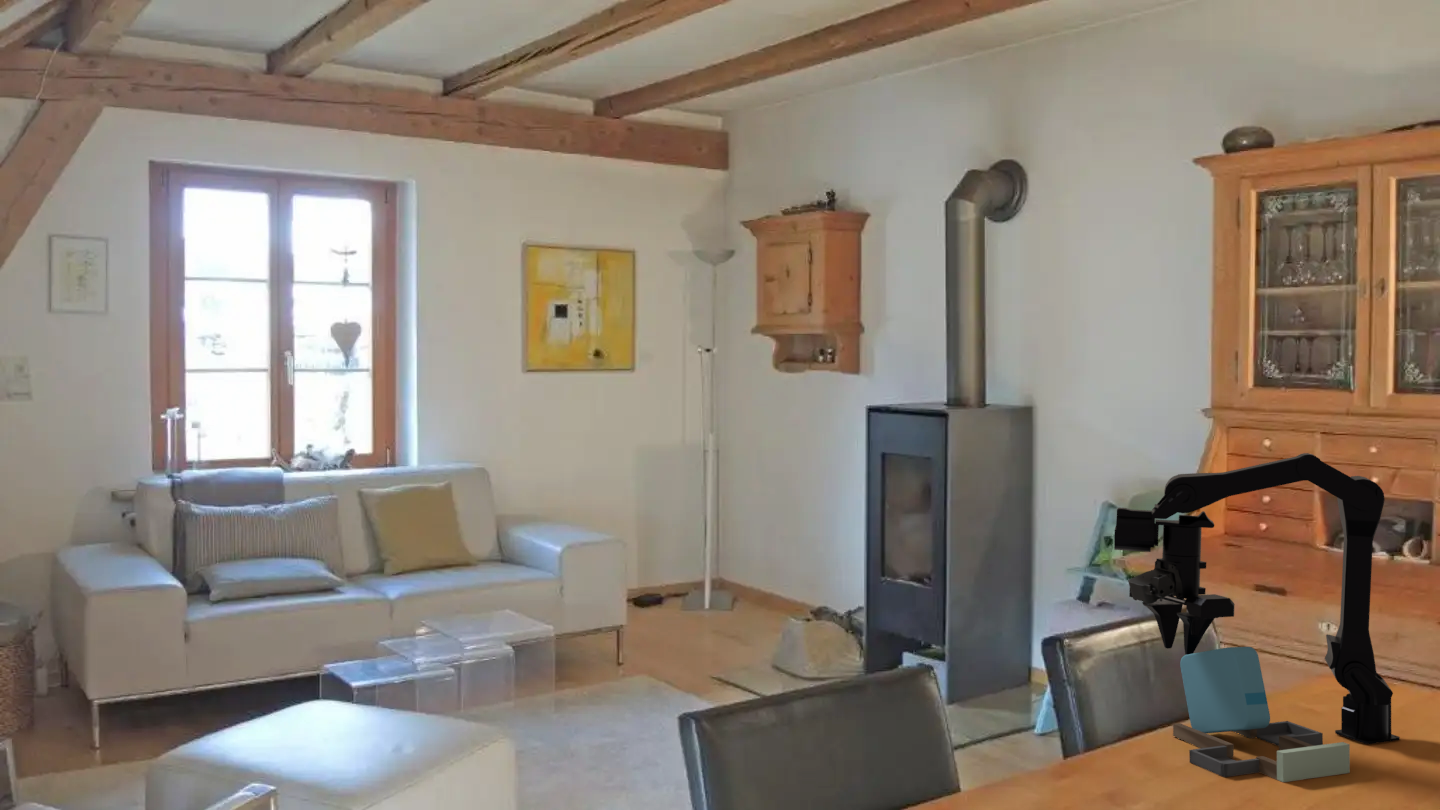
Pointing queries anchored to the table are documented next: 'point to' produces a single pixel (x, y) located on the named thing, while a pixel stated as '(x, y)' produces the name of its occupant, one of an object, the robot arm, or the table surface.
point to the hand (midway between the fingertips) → (1178, 651)
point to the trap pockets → (1226, 767)
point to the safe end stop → (1313, 761)
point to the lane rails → (1207, 740)
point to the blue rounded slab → (1225, 690)
